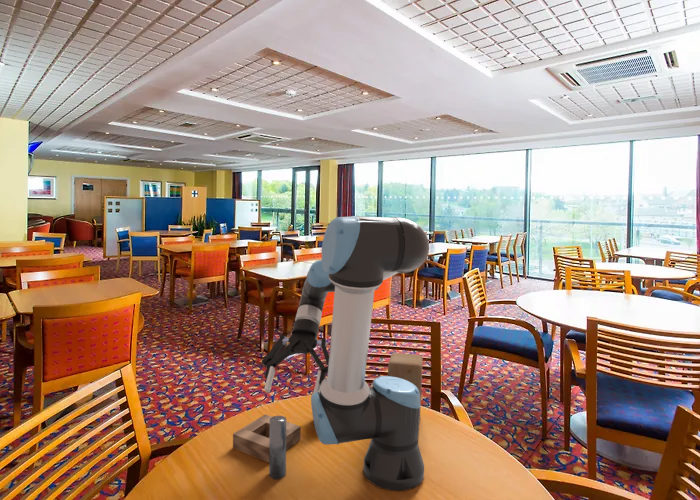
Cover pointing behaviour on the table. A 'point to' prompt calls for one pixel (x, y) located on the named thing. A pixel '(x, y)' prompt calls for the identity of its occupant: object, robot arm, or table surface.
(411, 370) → the wooden block
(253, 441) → the square block with hole
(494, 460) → the table surface
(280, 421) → the peg
